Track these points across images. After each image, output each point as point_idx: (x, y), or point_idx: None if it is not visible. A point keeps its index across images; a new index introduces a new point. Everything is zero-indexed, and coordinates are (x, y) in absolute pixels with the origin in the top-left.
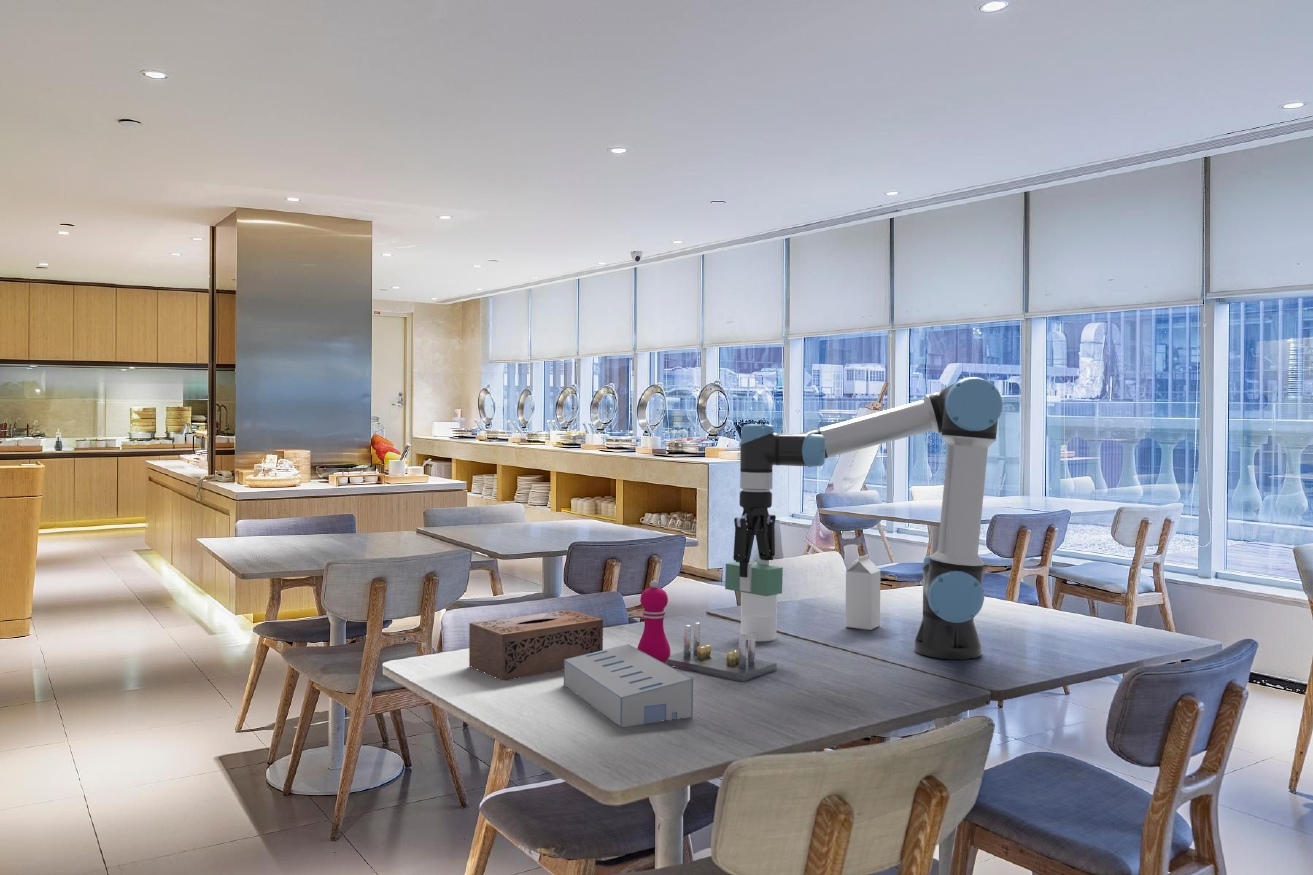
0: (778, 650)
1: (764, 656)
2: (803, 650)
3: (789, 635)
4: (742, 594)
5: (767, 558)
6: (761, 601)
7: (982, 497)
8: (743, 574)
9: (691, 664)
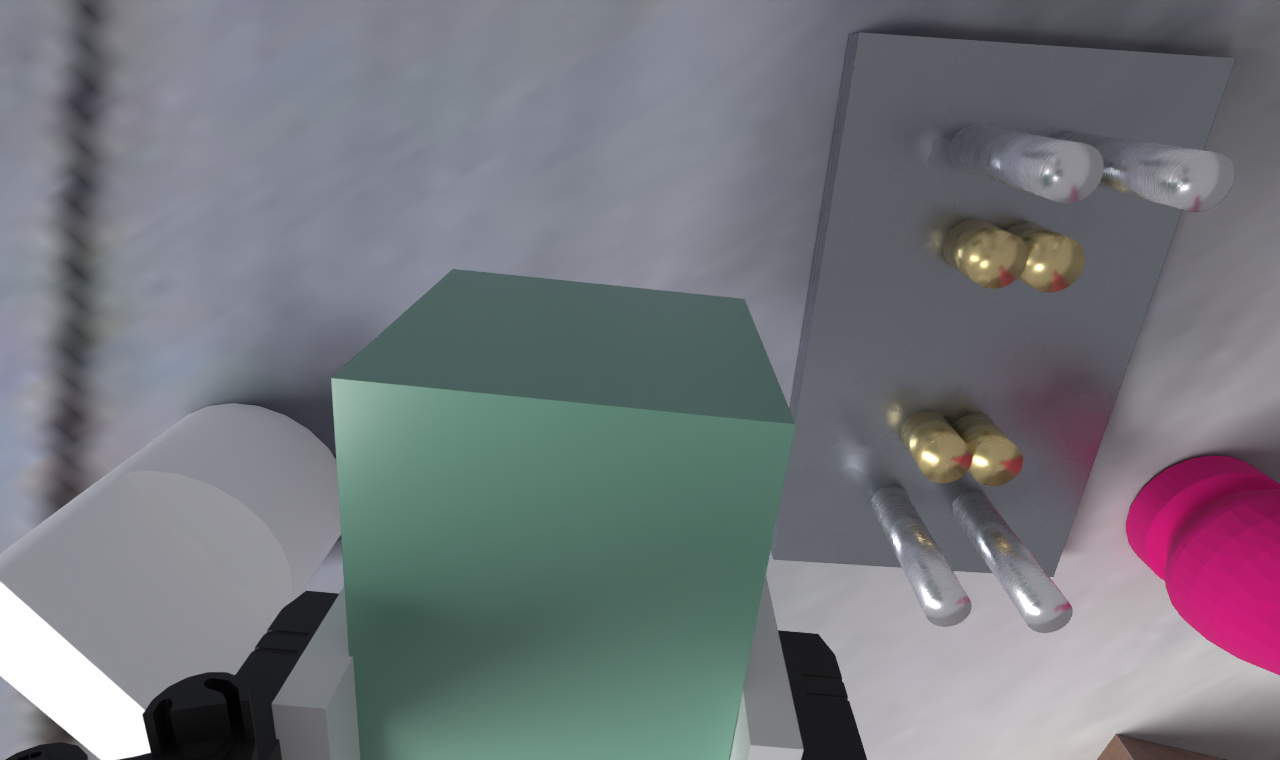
0: (428, 262)
1: (604, 256)
2: (320, 141)
3: (82, 386)
4: None
5: (256, 744)
6: (139, 599)
7: None
8: (832, 672)
9: (1109, 412)
